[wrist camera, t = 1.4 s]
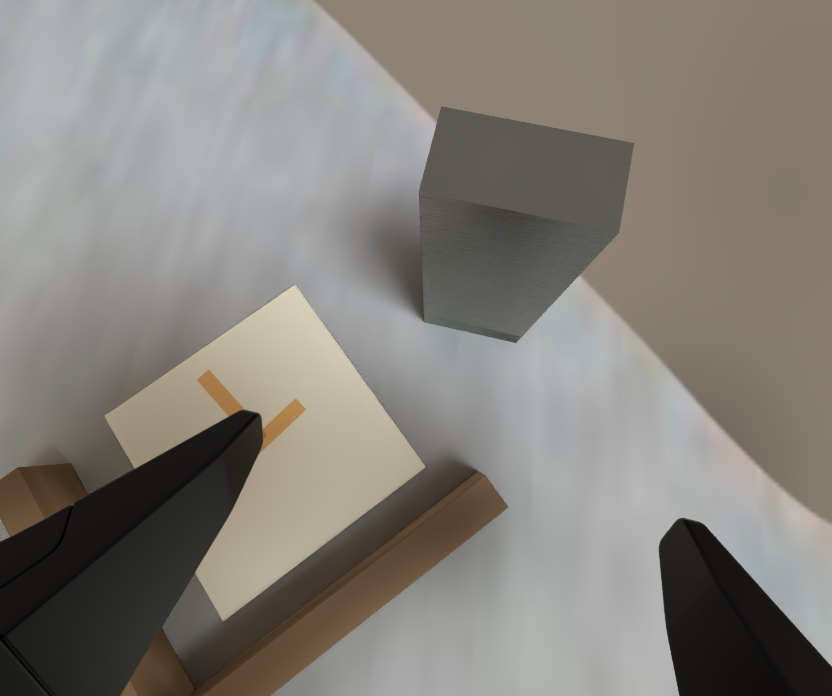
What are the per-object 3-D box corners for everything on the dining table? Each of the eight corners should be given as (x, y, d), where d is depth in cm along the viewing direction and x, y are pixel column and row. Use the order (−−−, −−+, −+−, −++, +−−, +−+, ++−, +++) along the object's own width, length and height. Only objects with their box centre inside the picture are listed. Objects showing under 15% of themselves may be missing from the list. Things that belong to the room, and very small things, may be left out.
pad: (425, 466, 22) (425, 467, 22) (225, 619, 21) (222, 621, 21) (295, 285, 24) (294, 284, 24) (106, 416, 23) (103, 416, 23)
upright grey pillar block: (424, 322, 24) (419, 191, 11) (449, 221, 25) (469, -2, 12) (515, 342, 24) (618, 232, 11) (536, 239, 25) (652, 29, 12)
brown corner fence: (497, 497, 22) (508, 507, 19) (183, 744, 20) (141, 796, 17) (335, 278, 24) (323, 257, 22) (43, 482, 23) (-14, 489, 20)
